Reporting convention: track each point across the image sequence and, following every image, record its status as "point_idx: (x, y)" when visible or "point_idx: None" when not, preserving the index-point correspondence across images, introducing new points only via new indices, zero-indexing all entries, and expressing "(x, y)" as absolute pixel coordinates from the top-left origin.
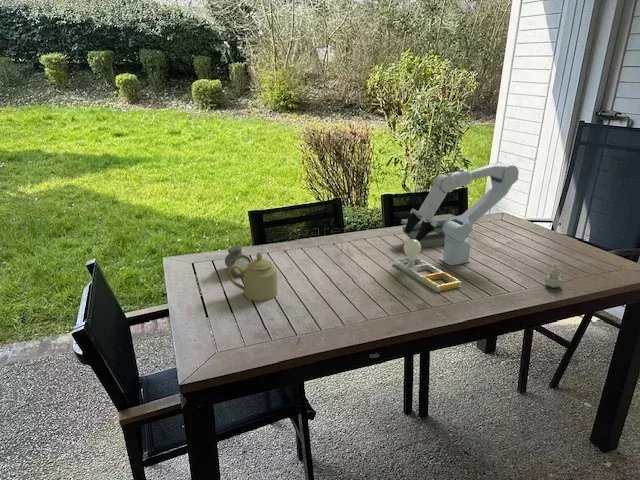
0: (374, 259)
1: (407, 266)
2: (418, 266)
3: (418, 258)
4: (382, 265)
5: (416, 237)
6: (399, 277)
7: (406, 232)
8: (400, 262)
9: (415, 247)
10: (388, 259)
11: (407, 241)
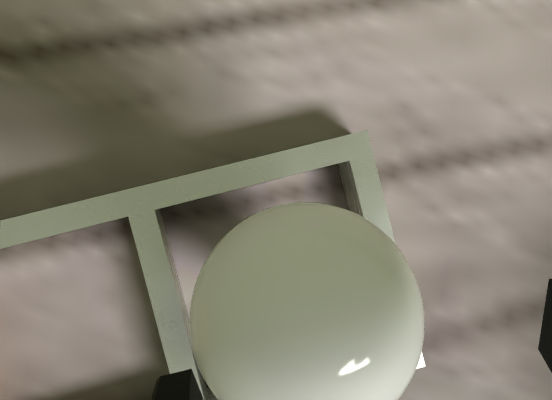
0: (491, 7)
1: (167, 202)
2: (154, 309)
3: None
4: (346, 32)
5: (173, 395)
6: (53, 90)
7: (550, 305)
8: (281, 169)
9: (195, 331)
10: (470, 129)
11: (330, 253)
